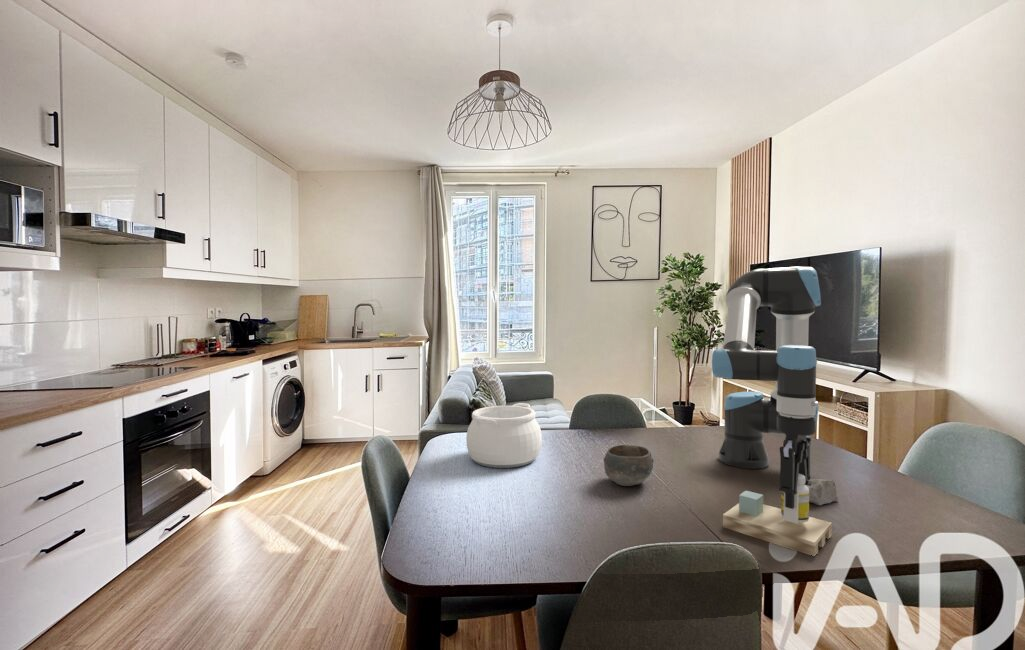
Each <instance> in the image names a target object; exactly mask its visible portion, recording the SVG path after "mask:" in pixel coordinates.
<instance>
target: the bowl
mask: <svg viewBox="0 0 1025 650" xmlns="http://www.w3.org/2000/svg"><path fill="white" fill-rule="evenodd" d="M652 456H653V455H652V453H651V451H650V450H649V449H648V448H647V447H645V446H640V445H629V444H619V445H615V446H611V447H610V448H609V449H608V450H607V451H606V453H605V456H604V458H603V463H604V465H603V468H604V472H605V474H606V476H607V478H609V479H610V480H611V481H612V482H614V483H615V484H617V485H618V486H619V485H620V486H623V487H632V486H636V485H640V484H642V483H643V482H644V481H646V480H647V479H648V478H649V477H650V476H651V474H652V472H653V469H654V460H655V459H654V458H653V457H652Z"/></svg>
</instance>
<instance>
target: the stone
mask: <svg viewBox="0 0 1025 650" xmlns="http://www.w3.org/2000/svg"><path fill="white" fill-rule="evenodd" d="M808 481H810V482H812V484H811V486H809V485H806V486H807V487H808V488H809V504H810V503H811V504H814V505H817V506H823V505H825V504H831V503H832V502H837V501H839V496H838V494H837V486H836V483H835V480H834V479H821V478H820V479H819V478H818V479H816V478H810V480H808Z"/></svg>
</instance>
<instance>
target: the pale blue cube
mask: <svg viewBox="0 0 1025 650" xmlns="http://www.w3.org/2000/svg"><path fill="white" fill-rule="evenodd" d="M738 497H739V498H738V501H739V502H738V503H739V512H743V513H746V514H750V515H753V516H758V515H759V514H761V513H762V512H763V504H764V494H762V493H758V492H754V491H753V492H752V491H750V490H744V491H743V492H742V493H740V494H739V495H738Z"/></svg>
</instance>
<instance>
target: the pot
mask: <svg viewBox="0 0 1025 650" xmlns="http://www.w3.org/2000/svg"><path fill="white" fill-rule="evenodd" d="M536 414H537V413H536V411H535V410H534V409H533V408H531V404H529V403H526V402H517V403H514V404H512V405H493V406H486V407H481V408H477V409H475V410H473V411H472V414H471V419H472V420H471V422H470V424H469V426H468V428H467V432H466V448H467V452H468V454H469V456H470V458H471V459H472V460H473V462H474V463H476V464H478V465H481V466H483V467H486V468H492V467H493V469H511V468H519V467H523V466H526V465H529V464H531V463H532V462H534V461H535V460H536V459H537V458H538V456H540V455H539V454H540V453H541V450H542V445H543V444H542V443H543V441H542V439H543V436H542V430H541V427H540V424H539V422H538V420H536V419H537V418H536V416H537V415H536Z"/></svg>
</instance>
